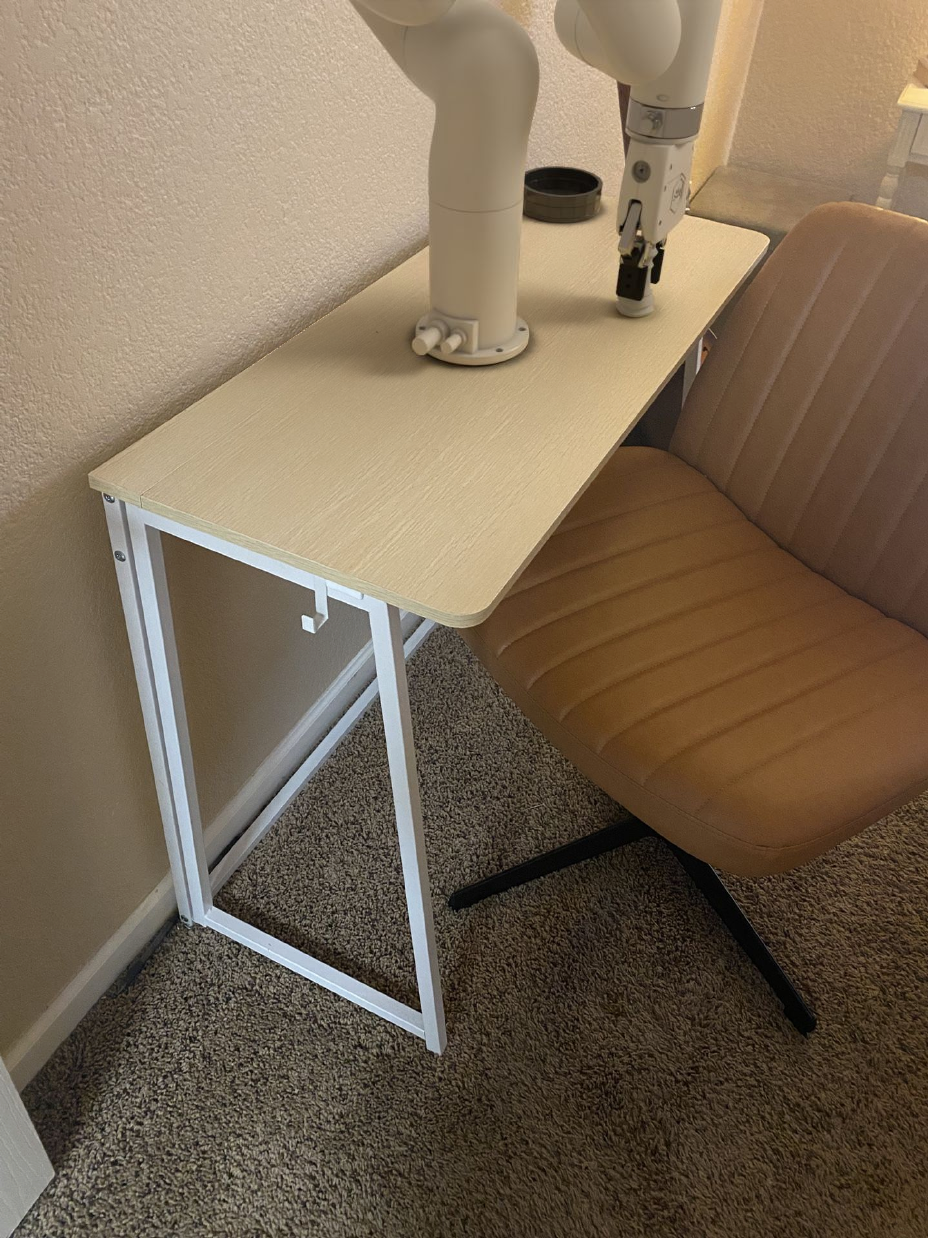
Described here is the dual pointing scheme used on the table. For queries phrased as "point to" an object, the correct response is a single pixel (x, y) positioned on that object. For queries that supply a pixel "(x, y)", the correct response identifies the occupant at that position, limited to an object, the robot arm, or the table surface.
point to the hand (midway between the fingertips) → (637, 287)
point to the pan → (561, 194)
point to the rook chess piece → (646, 304)
